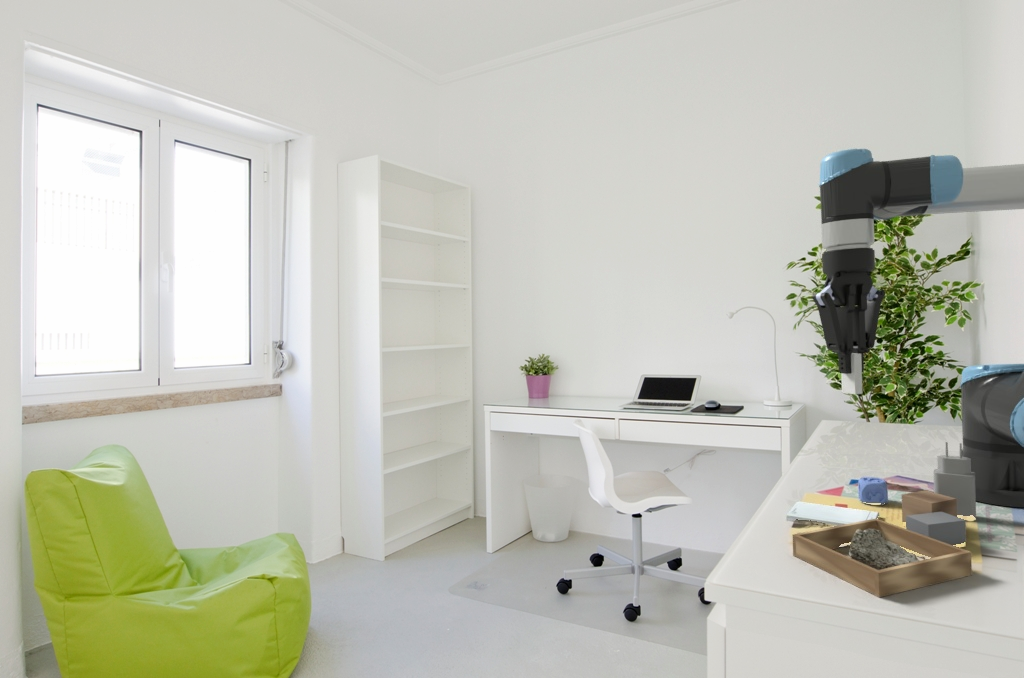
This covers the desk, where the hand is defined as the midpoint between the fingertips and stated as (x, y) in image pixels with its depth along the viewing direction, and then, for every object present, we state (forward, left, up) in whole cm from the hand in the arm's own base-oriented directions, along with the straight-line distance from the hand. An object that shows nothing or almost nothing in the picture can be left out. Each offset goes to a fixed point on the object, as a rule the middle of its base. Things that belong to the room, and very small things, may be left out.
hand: (852, 392), depth 102 cm
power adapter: (-13, +7, -21) cm, 25 cm away
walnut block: (-5, +9, -21) cm, 23 cm away
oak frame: (+13, +16, -20) cm, 29 cm away
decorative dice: (-8, -4, -21) cm, 23 cm away
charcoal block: (0, +14, -21) cm, 25 cm away
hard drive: (+4, 0, -21) cm, 22 cm away
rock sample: (+13, +18, -21) cm, 30 cm away
